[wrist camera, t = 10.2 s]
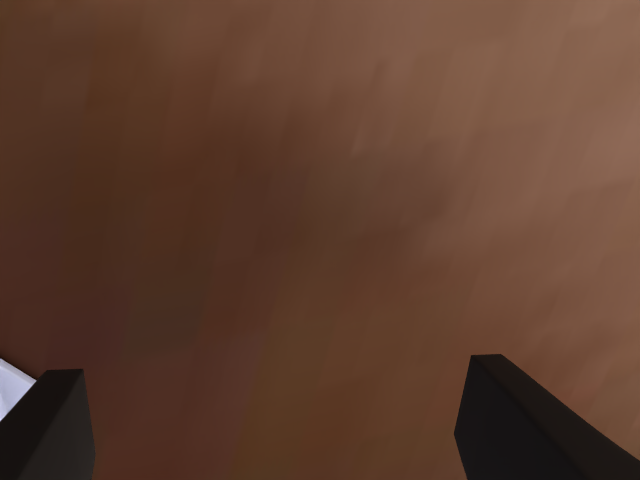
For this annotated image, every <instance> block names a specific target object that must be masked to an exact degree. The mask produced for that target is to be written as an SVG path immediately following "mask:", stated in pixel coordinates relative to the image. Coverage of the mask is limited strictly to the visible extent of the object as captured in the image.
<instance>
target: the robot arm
mask: <svg viewBox="0 0 640 480" xmlns="http://www.w3.org/2000/svg"><path fill="white" fill-rule="evenodd" d="M454 436H455V439H456V443H457V446H458V450H459V453H460V457H461V460H462V463H463V467H464V470H465V473H466V476H467V479H468V480H640V461H639V460H638V459H636V458H635V457H633V456H632V455H631V454H629V453H628V452H626V451H625V450H624V449H622V448H621V447H619V446H618V445H617V444H615V443H614V442H612V441H611V440H610V439H608V438H607V437H606V436H604V435H603V434H602V433H600V432H599V431H598V430H596V429H595V428H594V427H593V426H591V425H590V424H589V423H587V422H586V421H585V420H583V419H582V418H581V417H580V416H578V415H577V414H576V413H575V412H573V411H572V410H571V409H569V408H568V407H567V406H566V405H564V404H563V403H562V402H561V401H559V400H558V399H557V398H556V397H554V396H553V395H552V394H551V393H550V392H548V391H547V390H546V389H545V388H543V387H542V386H541V385H540V384H538V383H537V382H536V381H535V380H534V379H532V378H531V377H530V376H529V375H527V374H526V373H525V372H524V371H522V370H521V369H520V368H519V367H517V366H516V365H515V364H513V363H512V362H511V361H510V360H508V359H507V358H506V357H504V356H503V355H501V354H491V355H471V359H470V363H469V368H468V372H467V377H466V381H465V386H464V390H463V395H462V399H461V404H460V408H459V413H458V417H457V422H456V426H455V431H454ZM95 454H96V453H95V446H94V439H93V432H92V426H91V419H90V412H89V405H88V398H87V392H86V385H85V378H84V371H83V369H68V370H47V371H46V372H45V373H43V374H42V375H41V376H40V377H39V379H38V380H37V381H36V380H35V379H33V378H31V377H30V376H28V375H27V374H25V373H23V372H22V371H20V370H18V369H17V368H15V367H13V366H12V365H10V364H9V363H7V362H5V361H4V360H2V359H0V480H91V479H92V473H93V467H94V460H95Z"/></svg>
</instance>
